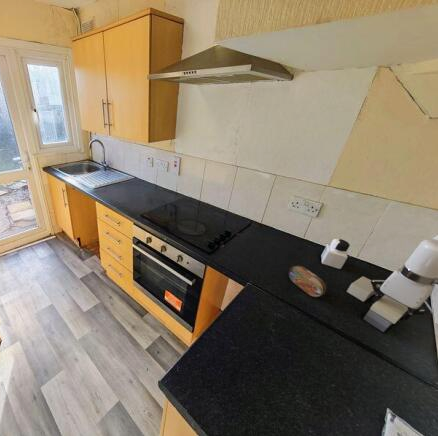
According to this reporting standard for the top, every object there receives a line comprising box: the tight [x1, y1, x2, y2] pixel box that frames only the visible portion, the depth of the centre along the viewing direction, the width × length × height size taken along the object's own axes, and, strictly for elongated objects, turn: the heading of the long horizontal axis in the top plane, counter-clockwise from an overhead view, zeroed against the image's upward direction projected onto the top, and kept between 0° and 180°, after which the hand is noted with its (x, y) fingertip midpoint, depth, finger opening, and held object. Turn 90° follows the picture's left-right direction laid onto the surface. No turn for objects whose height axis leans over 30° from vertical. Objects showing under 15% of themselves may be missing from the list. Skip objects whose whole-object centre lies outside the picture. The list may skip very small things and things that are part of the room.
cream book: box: [369, 294, 408, 325], centre depth 82 cm, size 7×10×2 cm
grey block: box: [362, 309, 394, 333], centre depth 84 cm, size 6×10×5 cm, turn 118°
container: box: [320, 238, 351, 270], centre depth 111 cm, size 8×8×13 cm
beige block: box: [346, 276, 381, 303], centre depth 96 cm, size 6×10×5 cm, turn 118°
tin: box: [288, 265, 327, 298], centre depth 97 cm, size 15×3×8 cm, turn 21°
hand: (387, 310), depth 83 cm, fingers closed on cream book, 7 cm apart
